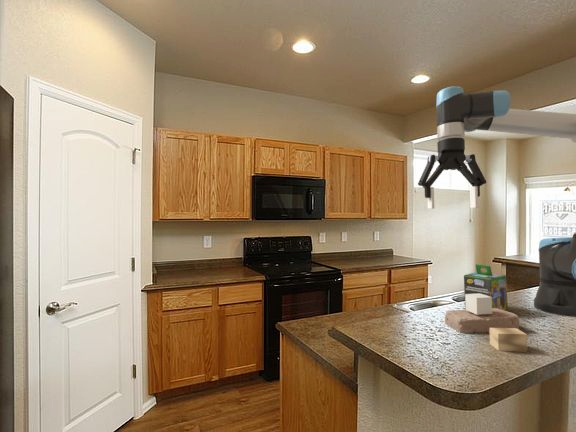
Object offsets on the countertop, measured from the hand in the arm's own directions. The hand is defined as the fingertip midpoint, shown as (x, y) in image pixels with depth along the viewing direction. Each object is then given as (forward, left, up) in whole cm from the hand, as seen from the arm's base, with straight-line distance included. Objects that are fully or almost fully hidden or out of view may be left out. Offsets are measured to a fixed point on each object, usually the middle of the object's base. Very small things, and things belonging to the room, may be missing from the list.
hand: (452, 208), depth 99 cm
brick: (-2, +10, -34) cm, 35 cm away
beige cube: (-1, +10, -29) cm, 31 cm away
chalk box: (-13, -6, -33) cm, 36 cm away
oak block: (+1, +24, -33) cm, 41 cm away
